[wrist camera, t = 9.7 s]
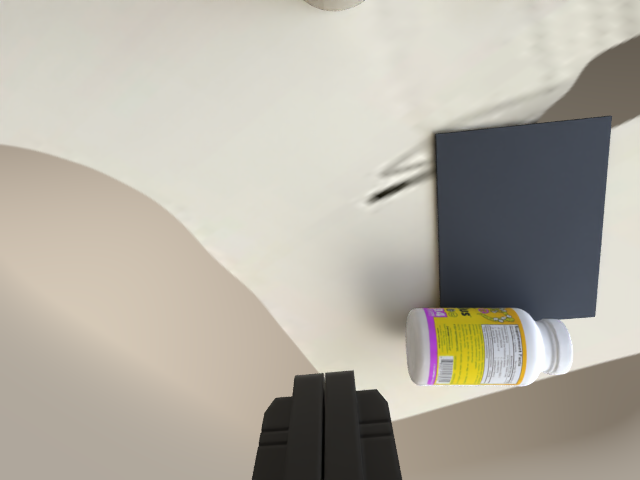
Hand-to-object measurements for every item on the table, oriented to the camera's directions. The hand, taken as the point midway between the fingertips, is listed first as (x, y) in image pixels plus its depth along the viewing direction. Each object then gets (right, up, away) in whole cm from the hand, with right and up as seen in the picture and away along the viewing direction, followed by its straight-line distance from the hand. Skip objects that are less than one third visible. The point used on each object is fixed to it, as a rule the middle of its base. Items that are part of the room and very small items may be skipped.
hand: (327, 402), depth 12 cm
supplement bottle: (+7, -5, +28) cm, 30 cm away
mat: (+17, +5, +29) cm, 34 cm away
